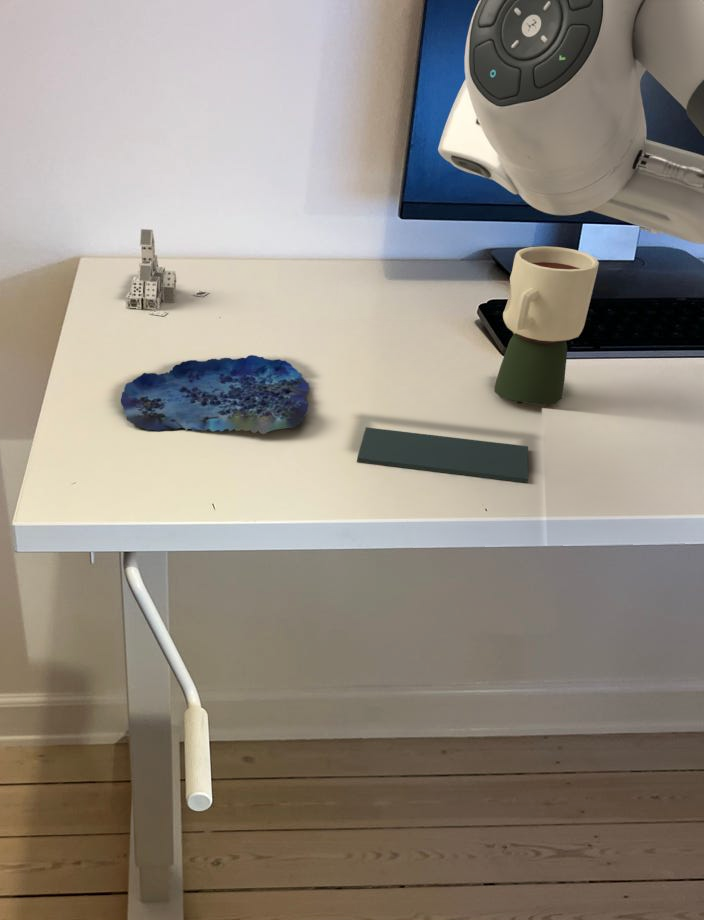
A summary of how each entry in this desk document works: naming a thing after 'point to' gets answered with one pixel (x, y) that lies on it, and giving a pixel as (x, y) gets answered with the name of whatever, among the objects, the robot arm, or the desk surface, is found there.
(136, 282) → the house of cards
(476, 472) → the mat
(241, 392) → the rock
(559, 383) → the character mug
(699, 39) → the robot arm
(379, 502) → the desk surface
